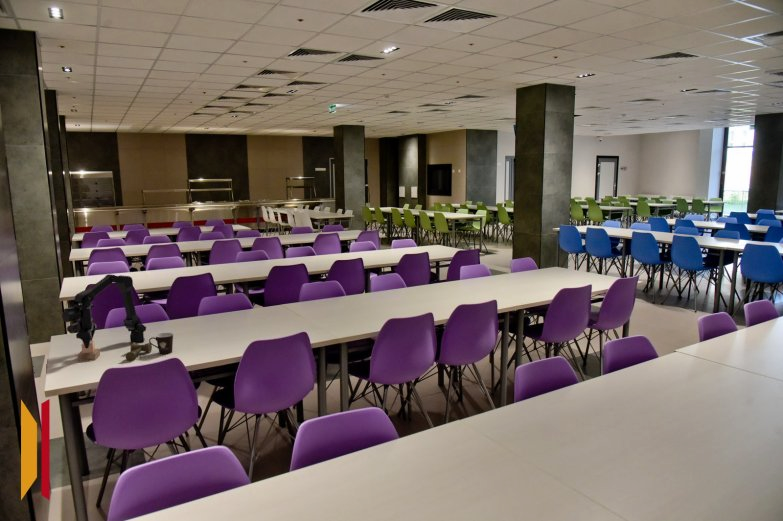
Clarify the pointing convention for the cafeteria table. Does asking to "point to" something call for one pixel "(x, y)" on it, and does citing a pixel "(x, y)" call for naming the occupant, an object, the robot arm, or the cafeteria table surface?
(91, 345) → the terracotta cube
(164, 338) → the coffee mug
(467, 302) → the cafeteria table surface
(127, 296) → the robot arm
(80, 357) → the walnut box
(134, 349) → the kendama
